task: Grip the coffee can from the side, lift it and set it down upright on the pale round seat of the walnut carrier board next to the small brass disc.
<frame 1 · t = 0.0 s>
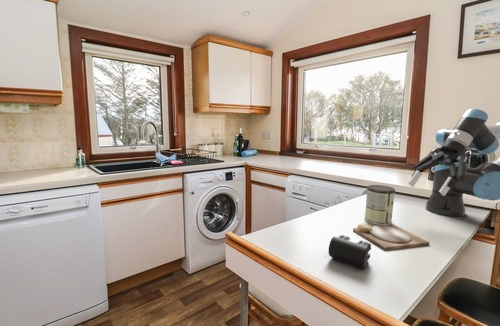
hand: (425, 189, 105), 15 cm above the breakfast bar, tool tilted 35°, fingers open, 13 cm apart
end cap: (348, 263, 79), on the breakfast bar
coffee can: (377, 221, 113), on the breakfast bar
carrier board: (389, 237, 97), on the breakfast bar
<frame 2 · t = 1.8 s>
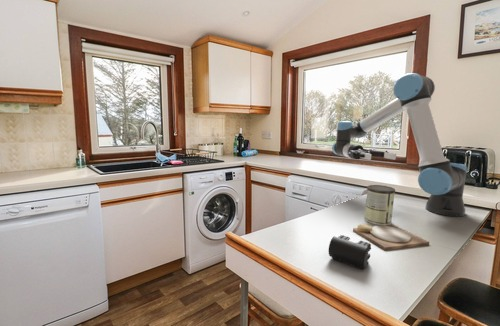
hand: (383, 156, 124), 25 cm above the breakfast bar, tool horizontal, fingers open, 13 cm apart
nothing on the breakfast bar moved.
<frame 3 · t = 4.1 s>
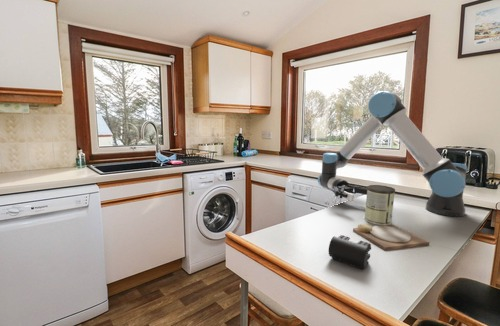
hand: (366, 197, 119), 8 cm above the breakfast bar, tool horizontal, fingers open, 13 cm apart
nothing on the breakfast bar moved.
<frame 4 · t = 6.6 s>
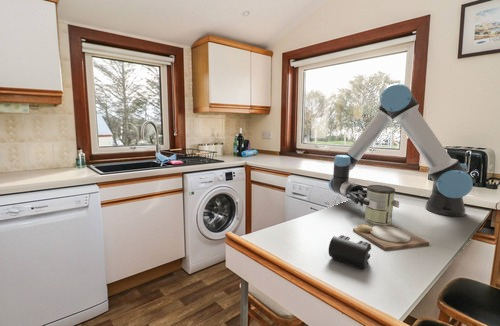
hand: (387, 205, 108), 8 cm above the breakfast bar, tool horizontal, fingers closed on coffee can, 10 cm apart
coffee can: (377, 221, 113), on the breakfast bar, touching gripper
everything else where it was.
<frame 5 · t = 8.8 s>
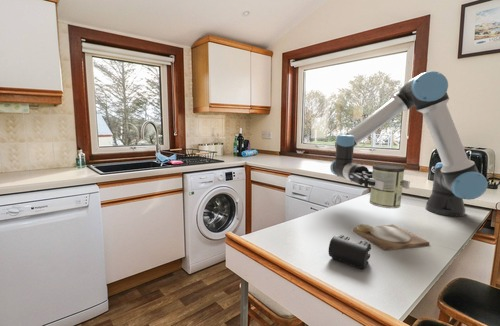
hand: (395, 185, 94), 19 cm above the breakfast bar, tool horizontal, fingers closed on coffee can, 10 cm apart
coffee can: (384, 204, 100), point 11 cm above the breakfast bar, touching gripper
everything else where it was.
when the fingers open (11 cm above the breakfast bar, at t = 11.1 s): coffee can drops 2 cm, resting on carrier board.
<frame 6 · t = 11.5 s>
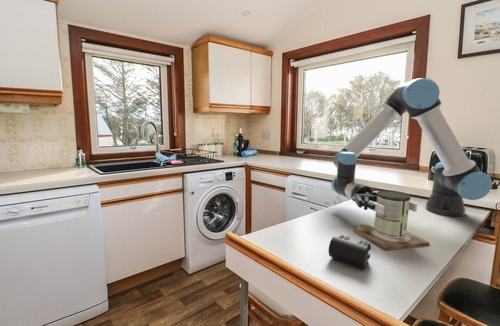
hand: (400, 209, 92), 11 cm above the breakfast bar, tool horizontal, fingers open, 13 cm apart
coffee can: (389, 233, 96), point 2 cm above the breakfast bar, touching carrier board
everything else where it was.
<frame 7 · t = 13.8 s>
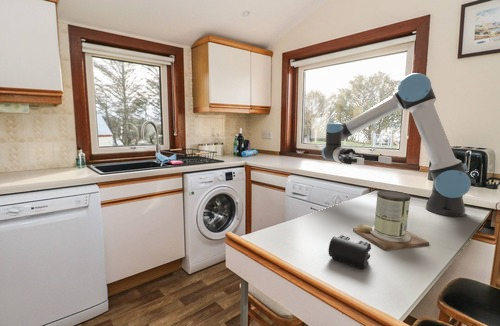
hand: (377, 161, 111), 25 cm above the breakfast bar, tool horizontal, fingers open, 13 cm apart
nothing on the breakfast bar moved.
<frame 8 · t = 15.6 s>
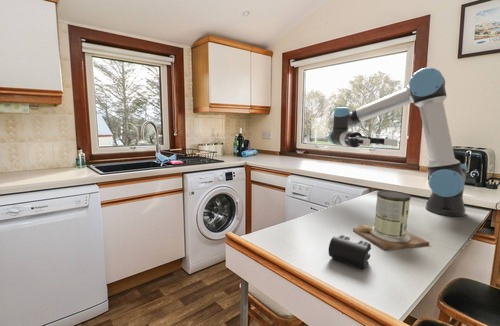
hand: (383, 142, 113), 32 cm above the breakfast bar, tool horizontal, fingers open, 13 cm apart
nothing on the breakfast bar moved.
at the end: coffee can 0.1 cm from the carrier board (horizontally); coffee can point 1.6 cm above the breakfast bar; coffee can tilted 0° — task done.
